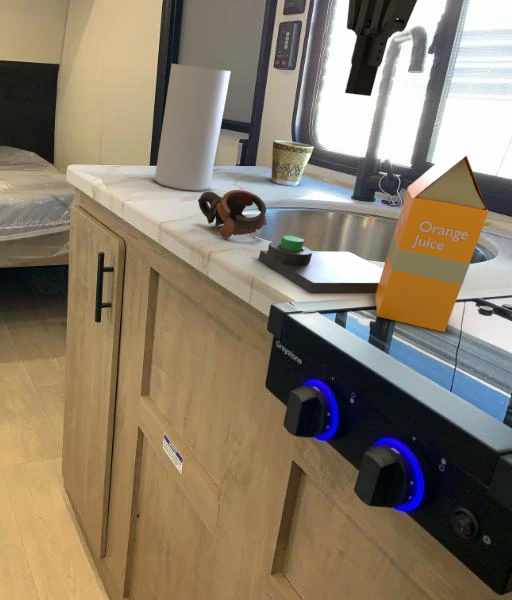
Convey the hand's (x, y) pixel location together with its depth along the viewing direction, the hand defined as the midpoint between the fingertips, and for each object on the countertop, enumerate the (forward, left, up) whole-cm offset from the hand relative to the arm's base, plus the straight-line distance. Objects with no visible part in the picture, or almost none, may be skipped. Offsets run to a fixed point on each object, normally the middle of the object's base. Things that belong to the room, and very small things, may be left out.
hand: (357, 94), depth 74 cm
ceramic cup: (-41, -69, -25) cm, 84 cm away
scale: (-4, -1, -24) cm, 25 cm away
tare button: (+1, -4, -22) cm, 22 cm away
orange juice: (-6, +12, -25) cm, 28 cm away
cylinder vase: (-6, -58, -25) cm, 64 cm away
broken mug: (+2, -21, -25) cm, 33 cm away
